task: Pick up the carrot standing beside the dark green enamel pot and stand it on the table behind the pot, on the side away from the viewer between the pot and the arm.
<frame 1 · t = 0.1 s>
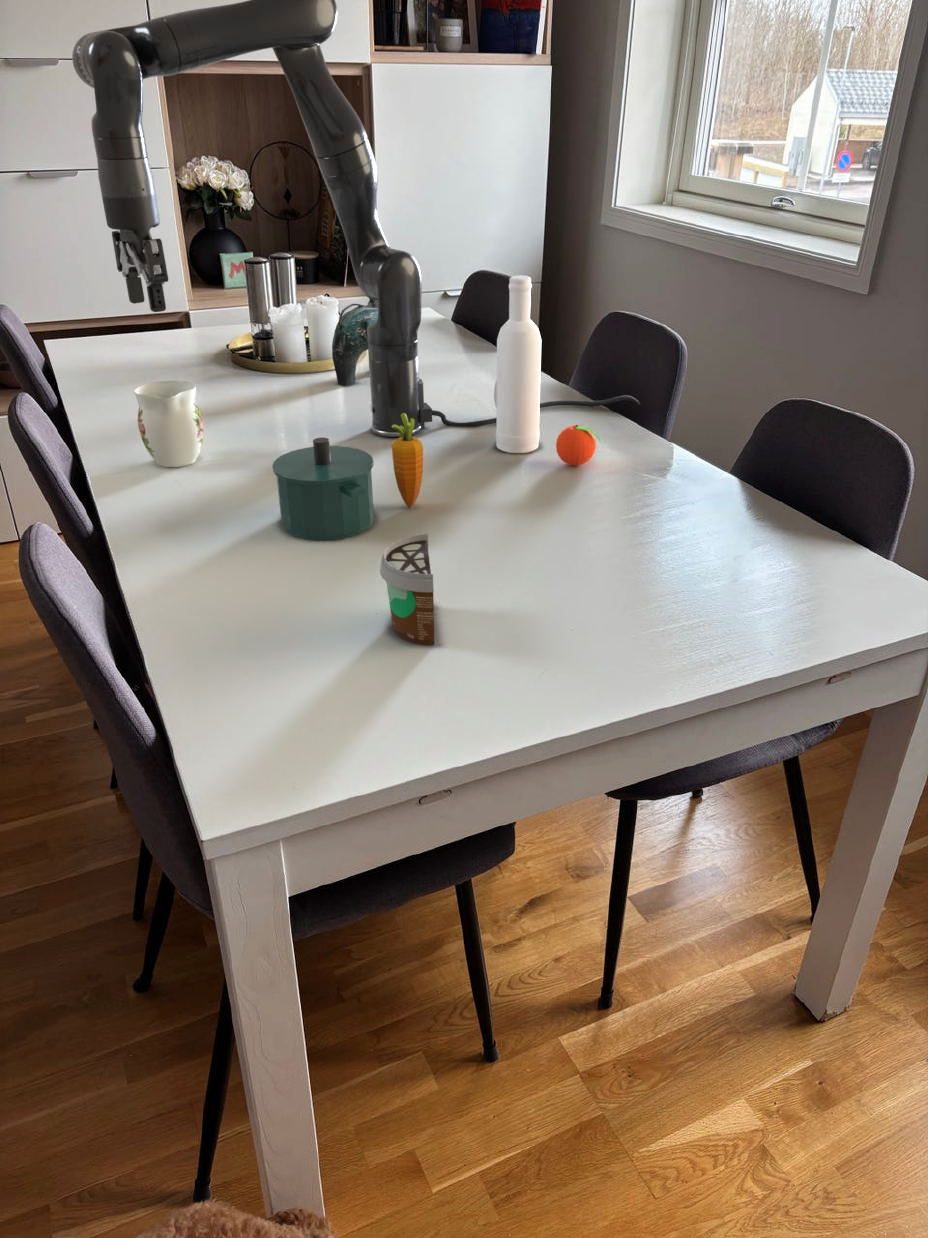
hand: (147, 306, 147), 29 cm above the table, tool pointing down, fingers open, 8 cm apart
carrot: (409, 508, 152), on the table
pitcher: (176, 460, 172), on the table
pot lid: (323, 466, 143), point 9 cm above the table, touching pot
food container: (408, 628, 119), on the table
bottle: (517, 447, 176), on the table
clementine: (577, 465, 168), on the table
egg: (512, 422, 190), on the table
pot: (328, 521, 147), on the table
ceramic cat: (369, 377, 219), on the table
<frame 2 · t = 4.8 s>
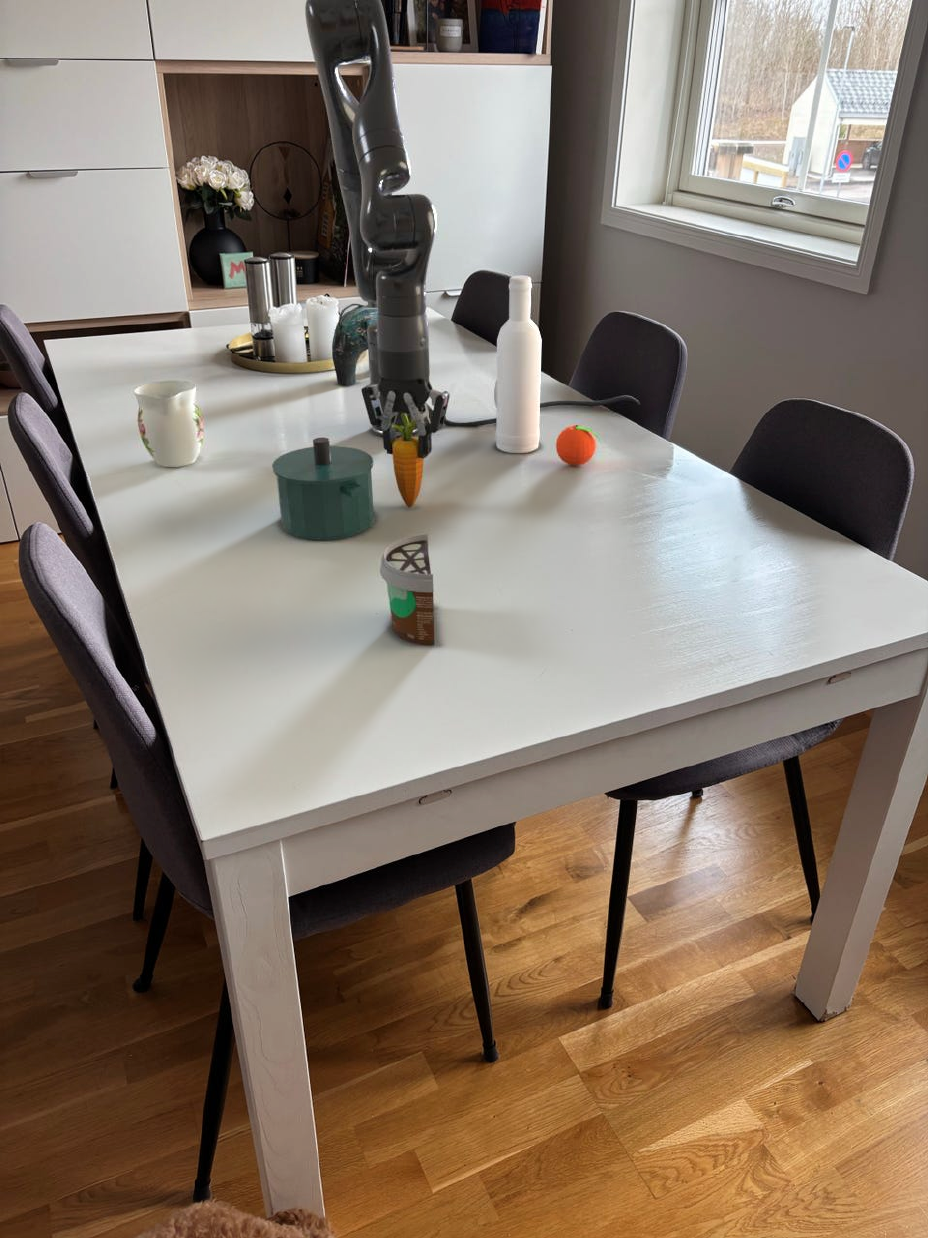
hand: (407, 454, 147), 9 cm above the table, tool pointing down, fingers closed on carrot, 5 cm apart
carrot: (409, 508, 152), on the table, touching gripper
everything else where it was.
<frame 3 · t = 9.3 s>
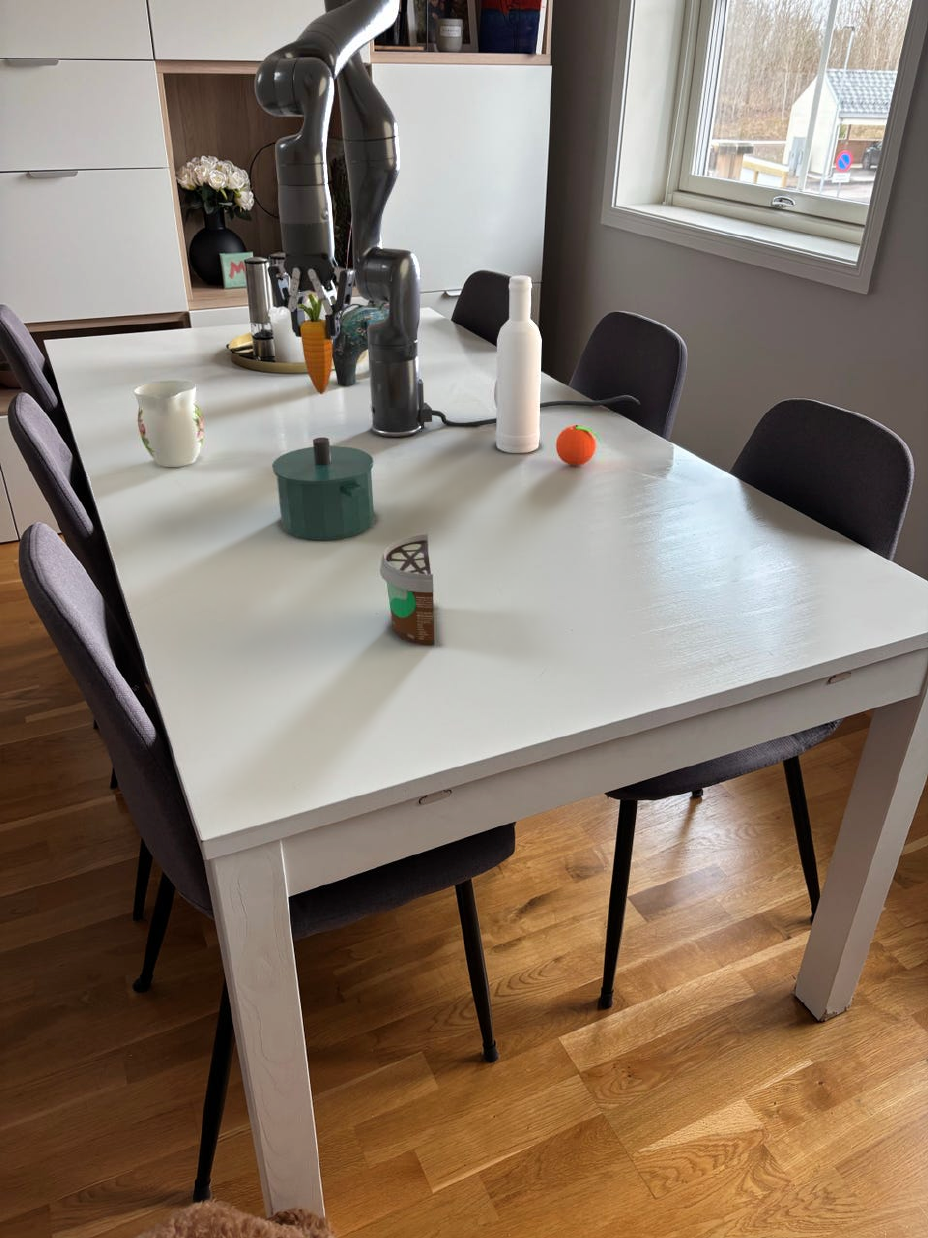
hand: (316, 336, 146), 25 cm above the table, tool pointing down, fingers closed on carrot, 5 cm apart
carrot: (321, 395, 150), point 16 cm above the table, touching gripper
everything else where it was.
when the fingers open (9 cm above the table, at t = 14.1 s): carrot stays where it is, on the table.
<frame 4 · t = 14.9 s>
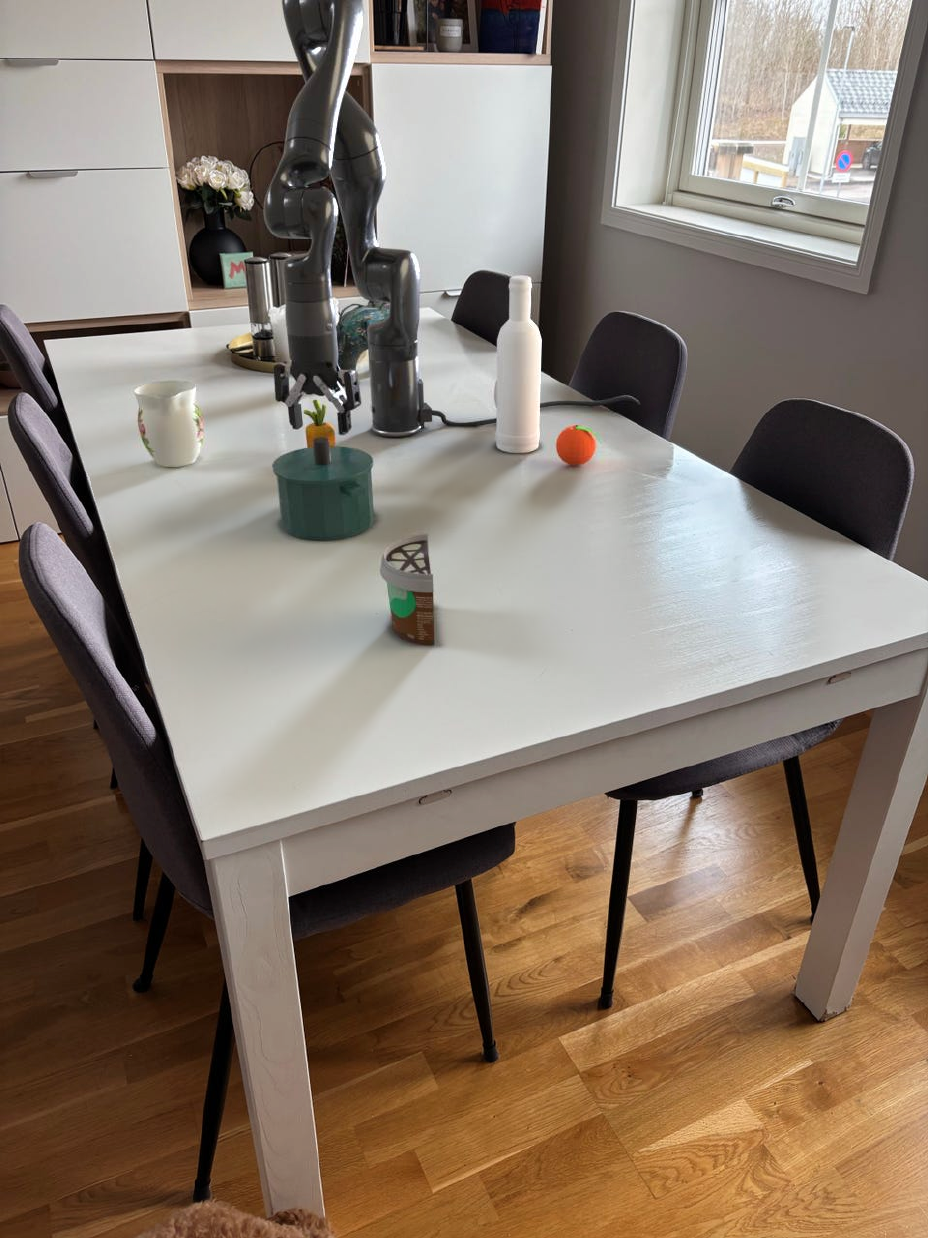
hand: (320, 430, 154), 10 cm above the table, tool pointing down, fingers open, 8 cm apart
carrot: (325, 491, 159), on the table
everything else where it was.
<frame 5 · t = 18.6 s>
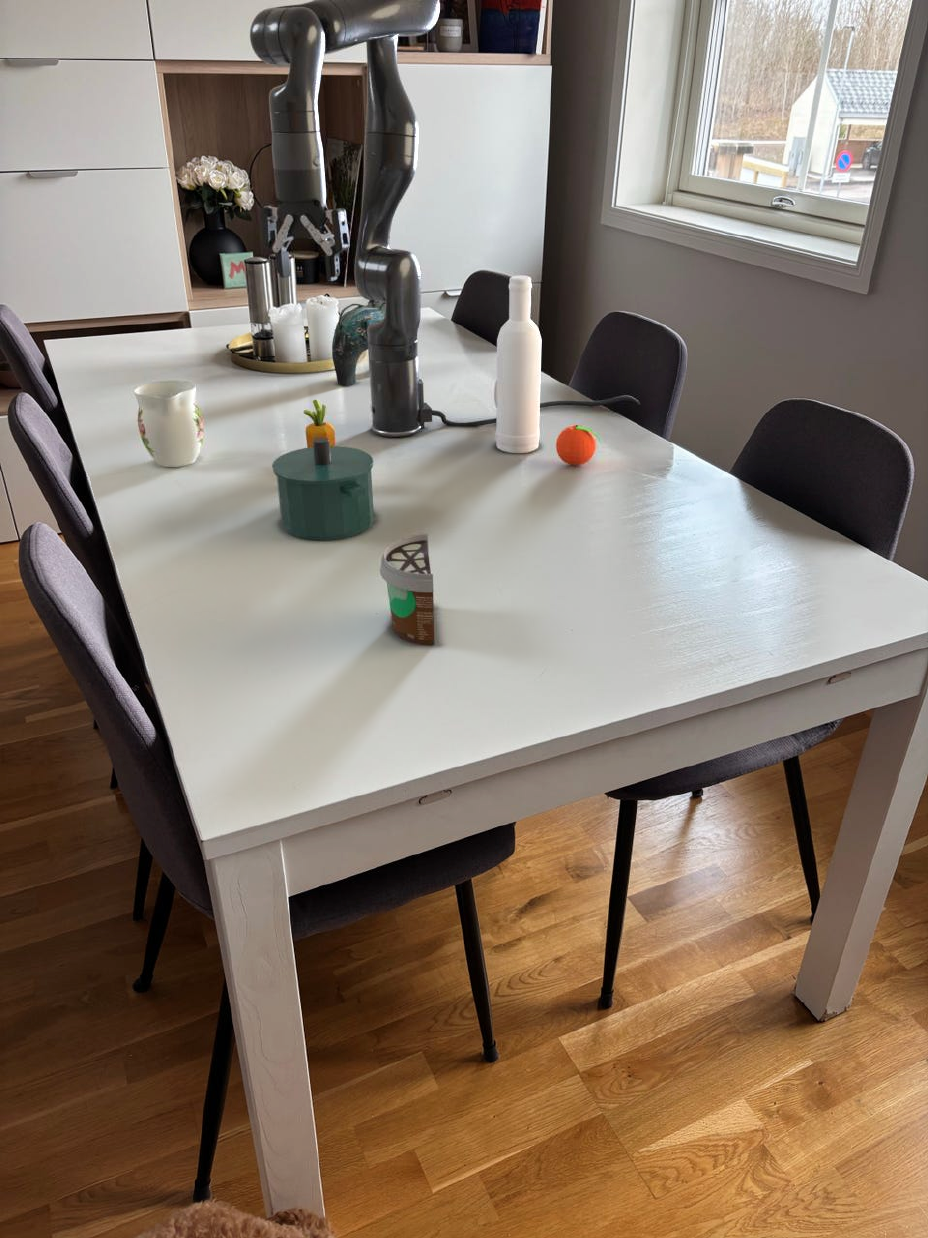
hand: (308, 278, 151), 32 cm above the table, tool pointing down, fingers open, 8 cm apart
nothing on the table moved.
at the end: carrot tilted 0°; the gripper is holding nothing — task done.
